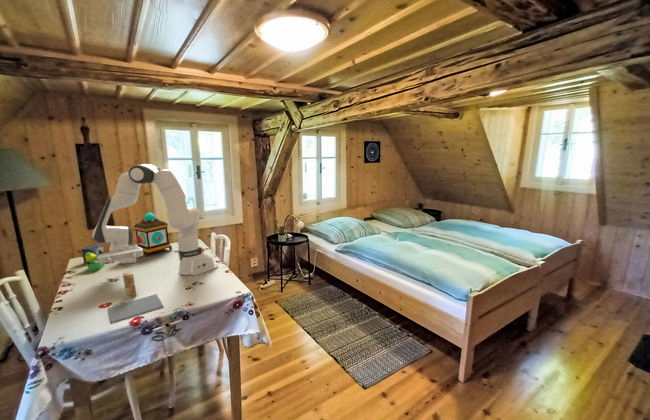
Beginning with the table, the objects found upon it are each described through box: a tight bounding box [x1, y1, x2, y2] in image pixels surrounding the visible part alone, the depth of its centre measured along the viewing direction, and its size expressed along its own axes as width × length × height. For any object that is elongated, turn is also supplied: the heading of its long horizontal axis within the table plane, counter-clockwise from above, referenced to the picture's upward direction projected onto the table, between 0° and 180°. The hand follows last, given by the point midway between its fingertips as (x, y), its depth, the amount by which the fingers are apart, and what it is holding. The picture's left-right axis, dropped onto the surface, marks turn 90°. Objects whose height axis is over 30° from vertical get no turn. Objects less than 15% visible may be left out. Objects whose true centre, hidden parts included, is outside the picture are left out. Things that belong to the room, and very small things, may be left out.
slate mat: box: [107, 293, 164, 324], centre depth 135 cm, size 20×16×1 cm
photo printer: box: [118, 257, 138, 264], centre depth 194 cm, size 10×4×12 cm, turn 96°
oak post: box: [122, 271, 137, 299], centre depth 146 cm, size 4×4×12 cm
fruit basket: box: [85, 252, 106, 272], centre depth 185 cm, size 11×9×11 cm
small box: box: [81, 243, 105, 264], centre depth 198 cm, size 11×6×10 cm, turn 168°
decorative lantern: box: [132, 212, 173, 258], centre depth 213 cm, size 20×20×30 cm
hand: (122, 259), depth 153 cm, fingers open, 8 cm apart
